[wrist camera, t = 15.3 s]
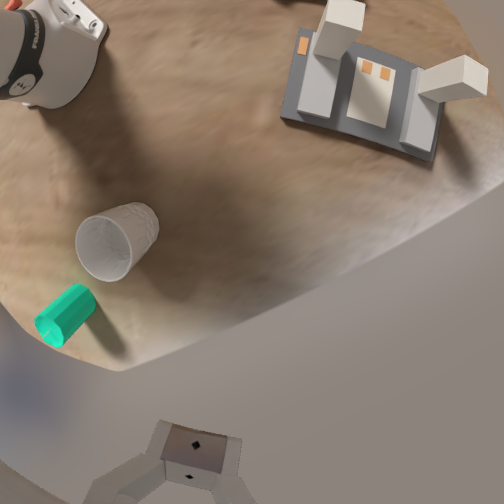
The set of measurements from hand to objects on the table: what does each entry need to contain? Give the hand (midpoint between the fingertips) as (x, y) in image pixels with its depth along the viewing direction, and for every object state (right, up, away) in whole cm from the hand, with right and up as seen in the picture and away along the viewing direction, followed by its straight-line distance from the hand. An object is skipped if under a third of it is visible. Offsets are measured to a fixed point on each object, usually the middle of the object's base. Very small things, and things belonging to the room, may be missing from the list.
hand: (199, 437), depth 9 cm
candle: (-27, -1, +36) cm, 46 cm away
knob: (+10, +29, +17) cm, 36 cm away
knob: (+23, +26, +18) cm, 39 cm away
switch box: (+16, +26, +22) cm, 38 cm away
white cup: (-14, +10, +31) cm, 35 cm away
